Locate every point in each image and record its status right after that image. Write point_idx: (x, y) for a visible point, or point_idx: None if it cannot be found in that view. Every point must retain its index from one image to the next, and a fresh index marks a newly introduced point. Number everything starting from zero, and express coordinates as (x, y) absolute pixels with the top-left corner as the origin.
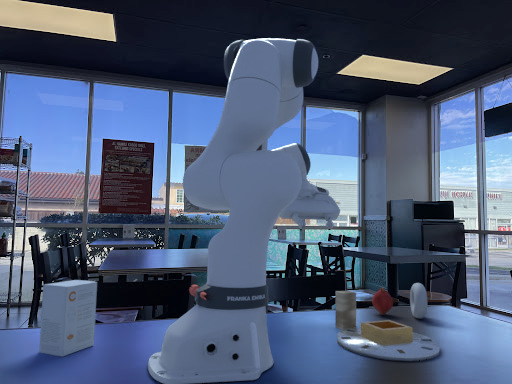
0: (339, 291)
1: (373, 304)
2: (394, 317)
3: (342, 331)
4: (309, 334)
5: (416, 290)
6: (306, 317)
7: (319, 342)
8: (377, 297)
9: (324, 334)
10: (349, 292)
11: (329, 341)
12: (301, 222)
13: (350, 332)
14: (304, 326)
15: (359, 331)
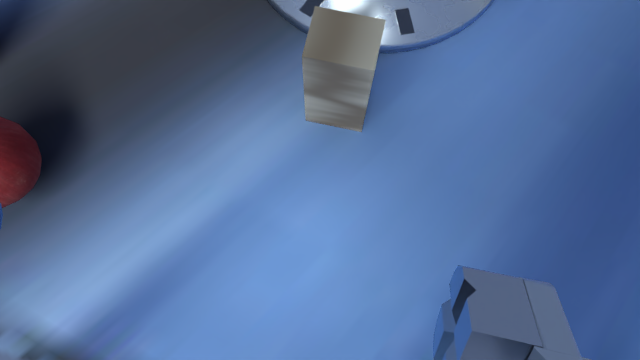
0: (361, 59)
1: (31, 184)
2: (27, 123)
3: (434, 30)
4: (509, 109)
5: None
6: (350, 308)
7: (535, 34)
8: (15, 150)
9: (463, 85)
10: (340, 20)
11: (501, 27)
12: (552, 298)
13: (419, 11)
14: (458, 195)
15: (384, 5)
